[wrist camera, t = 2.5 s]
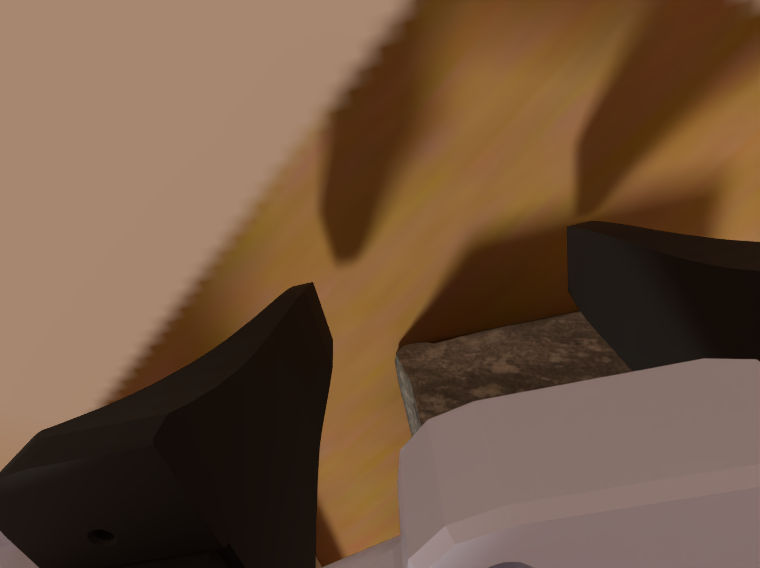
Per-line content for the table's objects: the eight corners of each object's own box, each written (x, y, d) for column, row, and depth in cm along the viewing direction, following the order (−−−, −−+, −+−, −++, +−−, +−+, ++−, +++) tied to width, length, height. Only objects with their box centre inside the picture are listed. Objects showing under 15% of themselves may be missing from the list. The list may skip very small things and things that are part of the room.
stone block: (431, 558, 21) (447, 693, 17) (375, 338, 15) (374, 456, 10) (605, 537, 21) (672, 671, 16) (624, 294, 14) (746, 401, 9)
